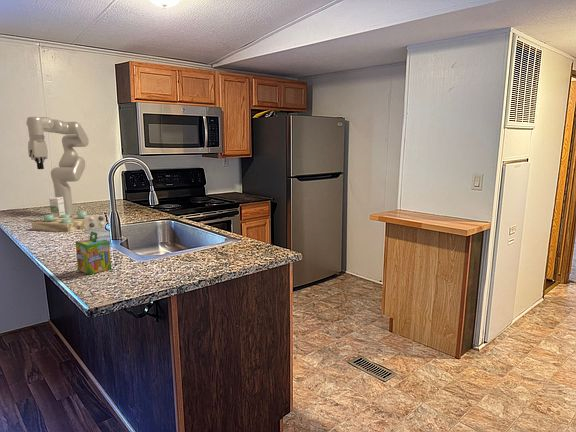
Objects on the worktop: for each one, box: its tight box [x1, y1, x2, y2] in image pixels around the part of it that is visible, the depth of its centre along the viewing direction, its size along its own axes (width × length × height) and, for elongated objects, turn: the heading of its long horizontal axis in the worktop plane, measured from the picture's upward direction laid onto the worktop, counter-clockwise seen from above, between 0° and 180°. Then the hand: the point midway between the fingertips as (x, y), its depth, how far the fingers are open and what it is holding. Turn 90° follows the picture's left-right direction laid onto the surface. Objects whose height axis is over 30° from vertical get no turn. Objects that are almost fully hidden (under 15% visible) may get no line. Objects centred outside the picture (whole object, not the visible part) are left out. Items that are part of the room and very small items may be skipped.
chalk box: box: [75, 231, 112, 276], centre depth 154 cm, size 9×9×15 cm
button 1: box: [43, 213, 54, 222], centre depth 230 cm, size 5×5×4 cm
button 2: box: [61, 219, 71, 223], centre depth 227 cm, size 5×5×4 cm
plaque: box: [84, 214, 107, 230], centre depth 230 cm, size 1×12×7 cm, turn 115°
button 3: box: [76, 210, 88, 219], centre depth 238 cm, size 5×5×4 cm
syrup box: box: [48, 196, 65, 217], centre depth 252 cm, size 6×6×14 cm
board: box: [31, 214, 85, 233], centre depth 235 cm, size 24×24×4 cm
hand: (40, 169), depth 245 cm, fingers closed
